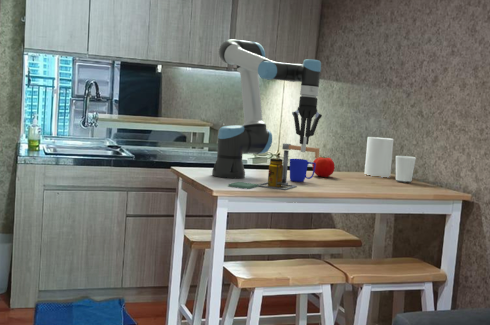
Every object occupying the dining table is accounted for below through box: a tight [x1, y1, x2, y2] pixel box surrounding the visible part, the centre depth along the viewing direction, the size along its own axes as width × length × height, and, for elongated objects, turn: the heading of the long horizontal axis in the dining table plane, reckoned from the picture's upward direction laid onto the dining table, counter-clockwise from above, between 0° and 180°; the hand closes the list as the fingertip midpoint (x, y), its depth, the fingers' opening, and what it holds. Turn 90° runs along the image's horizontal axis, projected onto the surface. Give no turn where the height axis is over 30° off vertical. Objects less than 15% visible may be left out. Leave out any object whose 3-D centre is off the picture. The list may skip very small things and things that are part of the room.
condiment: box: [264, 157, 287, 188], centre depth 284 cm, size 7×8×12 cm
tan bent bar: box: [281, 142, 320, 159], centre depth 287 cm, size 4×18×4 cm, turn 53°
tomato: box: [311, 156, 335, 178], centre depth 333 cm, size 11×13×10 cm
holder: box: [257, 181, 298, 191], centre depth 285 cm, size 14×14×1 cm
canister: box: [364, 136, 394, 178], centre depth 354 cm, size 14×14×20 cm
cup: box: [395, 155, 417, 184], centre depth 333 cm, size 10×10×13 cm
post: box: [282, 149, 290, 185], centre depth 292 cm, size 4×4×15 cm
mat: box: [227, 181, 259, 190], centre depth 278 cm, size 9×10×1 cm
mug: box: [289, 158, 316, 183], centre depth 307 cm, size 8×12×10 cm
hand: (303, 152), depth 284 cm, fingers closed
